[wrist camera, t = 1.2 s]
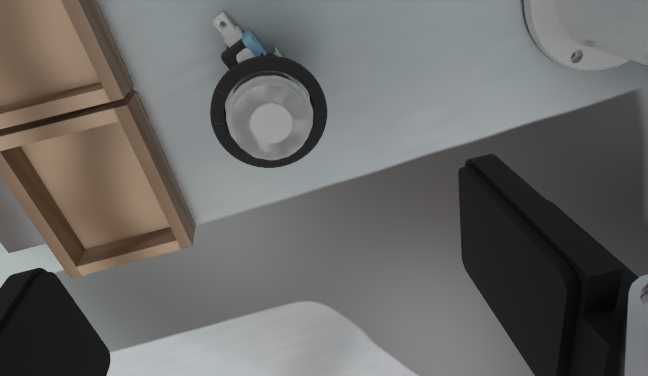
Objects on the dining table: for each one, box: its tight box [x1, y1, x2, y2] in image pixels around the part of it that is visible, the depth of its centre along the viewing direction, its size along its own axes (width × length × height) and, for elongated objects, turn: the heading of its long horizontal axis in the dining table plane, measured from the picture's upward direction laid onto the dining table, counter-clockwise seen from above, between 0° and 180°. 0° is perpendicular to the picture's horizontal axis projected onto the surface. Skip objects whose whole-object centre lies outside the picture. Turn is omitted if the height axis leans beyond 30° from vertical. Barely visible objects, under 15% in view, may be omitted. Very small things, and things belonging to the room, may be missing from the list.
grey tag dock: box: [0, 92, 196, 278], centre depth 28 cm, size 12×11×3 cm
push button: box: [210, 12, 327, 168], centre depth 23 cm, size 7×5×10 cm
